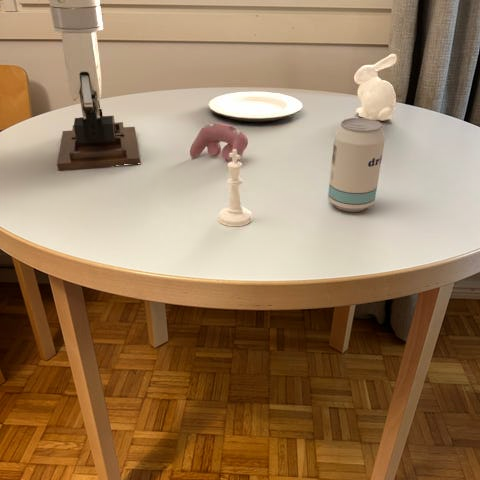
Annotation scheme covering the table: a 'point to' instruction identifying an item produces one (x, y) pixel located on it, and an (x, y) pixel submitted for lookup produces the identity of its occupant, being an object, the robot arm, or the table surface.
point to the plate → (255, 106)
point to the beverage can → (356, 164)
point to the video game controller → (212, 138)
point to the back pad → (107, 128)
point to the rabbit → (375, 91)
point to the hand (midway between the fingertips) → (95, 136)
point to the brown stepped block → (99, 150)
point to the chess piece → (234, 197)
